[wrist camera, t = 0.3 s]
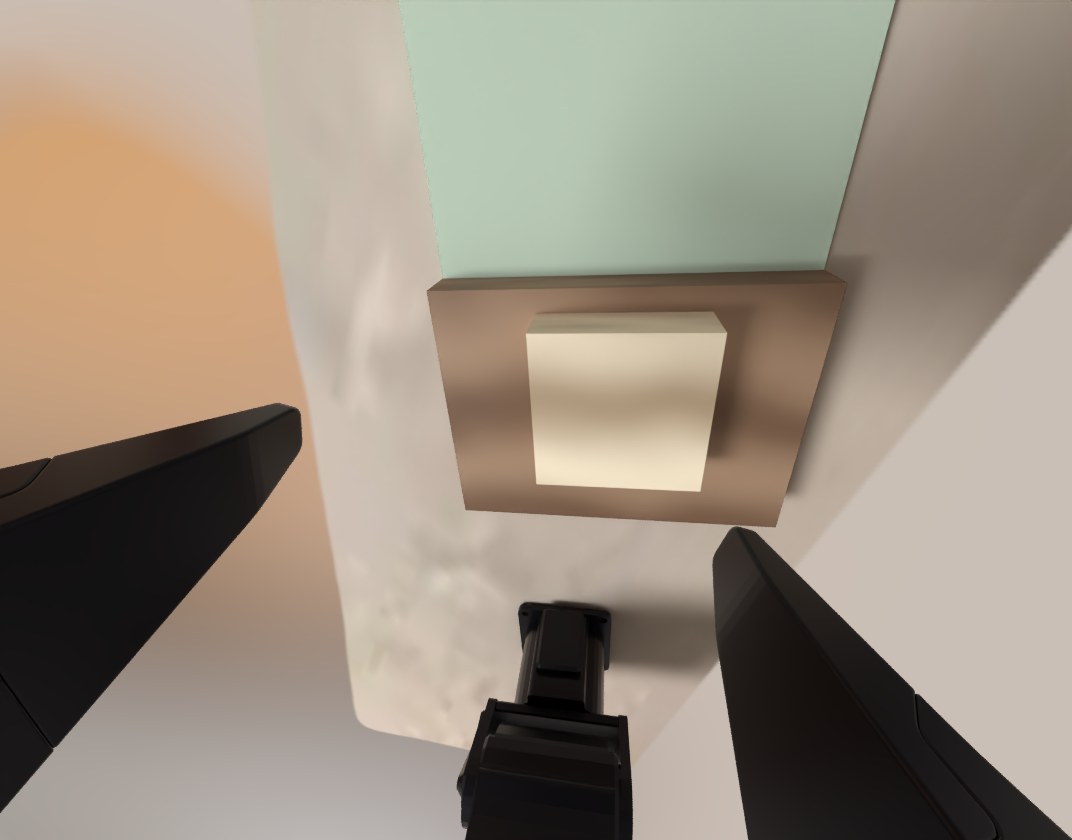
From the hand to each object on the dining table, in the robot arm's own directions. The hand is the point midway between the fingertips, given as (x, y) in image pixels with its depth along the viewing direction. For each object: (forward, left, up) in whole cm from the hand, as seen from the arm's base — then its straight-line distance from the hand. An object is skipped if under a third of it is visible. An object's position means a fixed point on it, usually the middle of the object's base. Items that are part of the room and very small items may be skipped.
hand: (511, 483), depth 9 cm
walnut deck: (-5, -2, -13) cm, 14 cm away
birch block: (-3, -2, -11) cm, 12 cm away
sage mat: (+6, -3, -13) cm, 15 cm away
